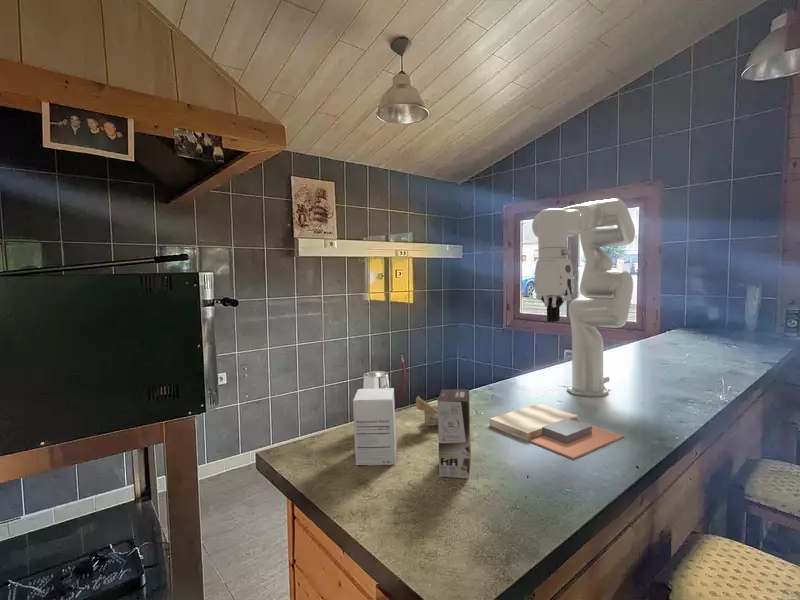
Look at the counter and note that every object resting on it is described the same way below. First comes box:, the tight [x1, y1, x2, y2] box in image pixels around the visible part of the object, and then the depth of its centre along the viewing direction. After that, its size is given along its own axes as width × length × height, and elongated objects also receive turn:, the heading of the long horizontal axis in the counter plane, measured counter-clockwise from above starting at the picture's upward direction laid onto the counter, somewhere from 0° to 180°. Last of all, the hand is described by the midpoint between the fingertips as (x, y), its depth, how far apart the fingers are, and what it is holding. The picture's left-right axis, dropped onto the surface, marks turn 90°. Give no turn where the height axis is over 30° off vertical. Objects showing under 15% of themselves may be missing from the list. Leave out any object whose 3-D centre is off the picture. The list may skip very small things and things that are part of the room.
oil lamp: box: [415, 396, 438, 427], centre depth 118 cm, size 9×21×10 cm, turn 138°
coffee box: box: [437, 388, 472, 480], centre depth 90 cm, size 9×6×16 cm
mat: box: [529, 421, 625, 460], centre depth 103 cm, size 20×12×1 cm, turn 123°
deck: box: [489, 403, 579, 442], centre depth 114 cm, size 20×13×2 cm, turn 123°
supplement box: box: [352, 387, 397, 467], centre depth 97 cm, size 9×9×15 cm
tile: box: [542, 418, 593, 444], centre depth 106 cm, size 10×7×2 cm
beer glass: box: [363, 370, 390, 389], centre depth 114 cm, size 7×7×15 cm
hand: (553, 321), depth 117 cm, fingers closed
